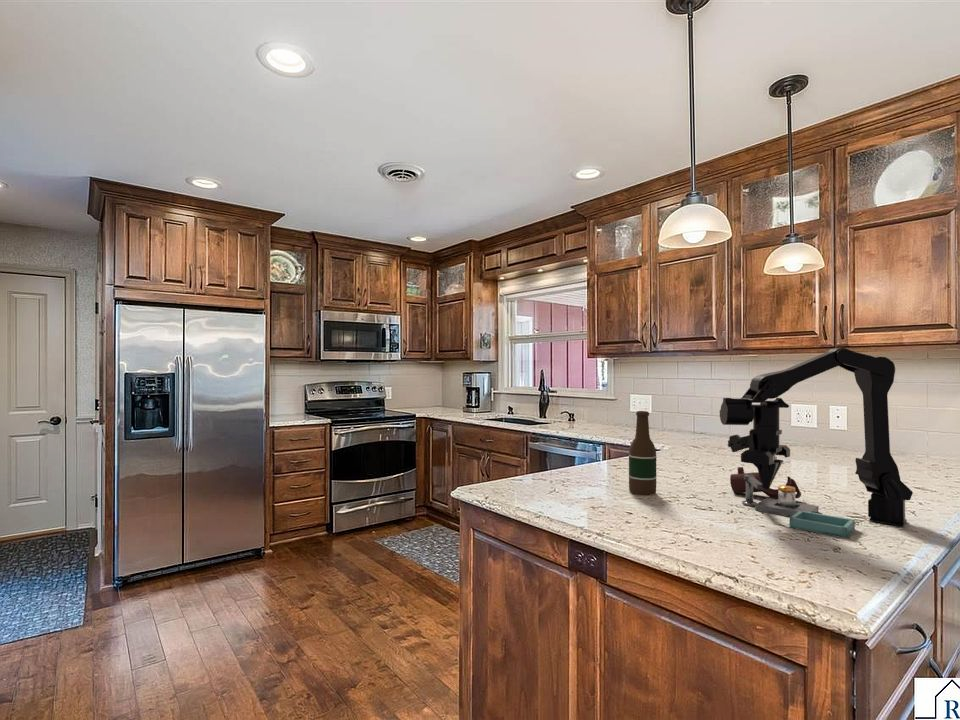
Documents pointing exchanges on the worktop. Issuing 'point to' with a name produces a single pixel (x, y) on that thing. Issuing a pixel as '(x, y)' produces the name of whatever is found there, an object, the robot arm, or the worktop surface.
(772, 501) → the hitch plate
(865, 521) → the worktop surface
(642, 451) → the beer bottle
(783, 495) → the jar with golden lid
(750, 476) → the bar
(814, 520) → the tray
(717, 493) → the worktop surface
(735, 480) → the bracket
